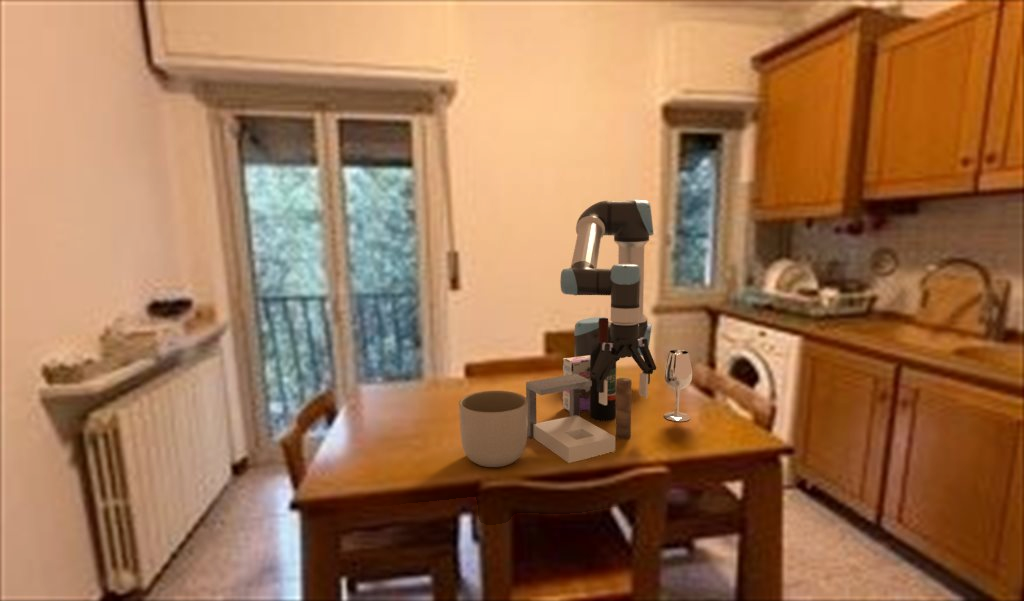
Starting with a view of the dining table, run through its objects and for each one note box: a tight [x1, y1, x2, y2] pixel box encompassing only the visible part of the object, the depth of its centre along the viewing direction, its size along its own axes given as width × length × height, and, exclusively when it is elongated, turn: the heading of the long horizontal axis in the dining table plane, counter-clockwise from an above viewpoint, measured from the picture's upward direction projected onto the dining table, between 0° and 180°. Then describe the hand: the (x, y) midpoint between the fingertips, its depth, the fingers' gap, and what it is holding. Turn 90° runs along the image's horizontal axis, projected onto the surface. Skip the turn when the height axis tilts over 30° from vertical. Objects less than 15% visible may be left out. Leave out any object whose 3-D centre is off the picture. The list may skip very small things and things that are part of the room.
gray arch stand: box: [525, 374, 592, 440], centre depth 155 cm, size 16×8×16 cm, turn 117°
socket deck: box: [532, 415, 616, 464], centre depth 149 cm, size 14×18×4 cm
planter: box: [458, 390, 528, 468], centre depth 140 cm, size 17×17×15 cm
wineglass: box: [663, 349, 693, 422], centre depth 167 cm, size 8×8×20 cm
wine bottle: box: [589, 317, 617, 422], centre depth 167 cm, size 8×8×30 cm
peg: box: [615, 377, 632, 440], centre depth 153 cm, size 4×4×16 cm
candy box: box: [562, 355, 590, 413], centre depth 176 cm, size 14×6×16 cm, turn 114°
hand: (623, 400), depth 153 cm, fingers open, 13 cm apart
